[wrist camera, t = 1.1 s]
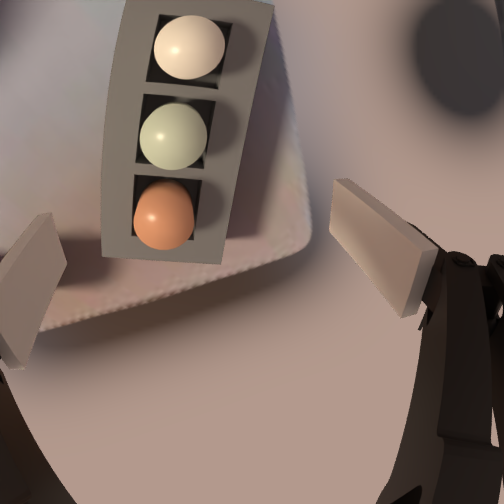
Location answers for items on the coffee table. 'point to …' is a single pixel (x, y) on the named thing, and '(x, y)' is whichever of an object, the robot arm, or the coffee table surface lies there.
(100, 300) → the coffee table surface
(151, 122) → the pale green egg
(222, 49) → the cream ball
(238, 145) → the grey socket tray
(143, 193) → the orange egg
